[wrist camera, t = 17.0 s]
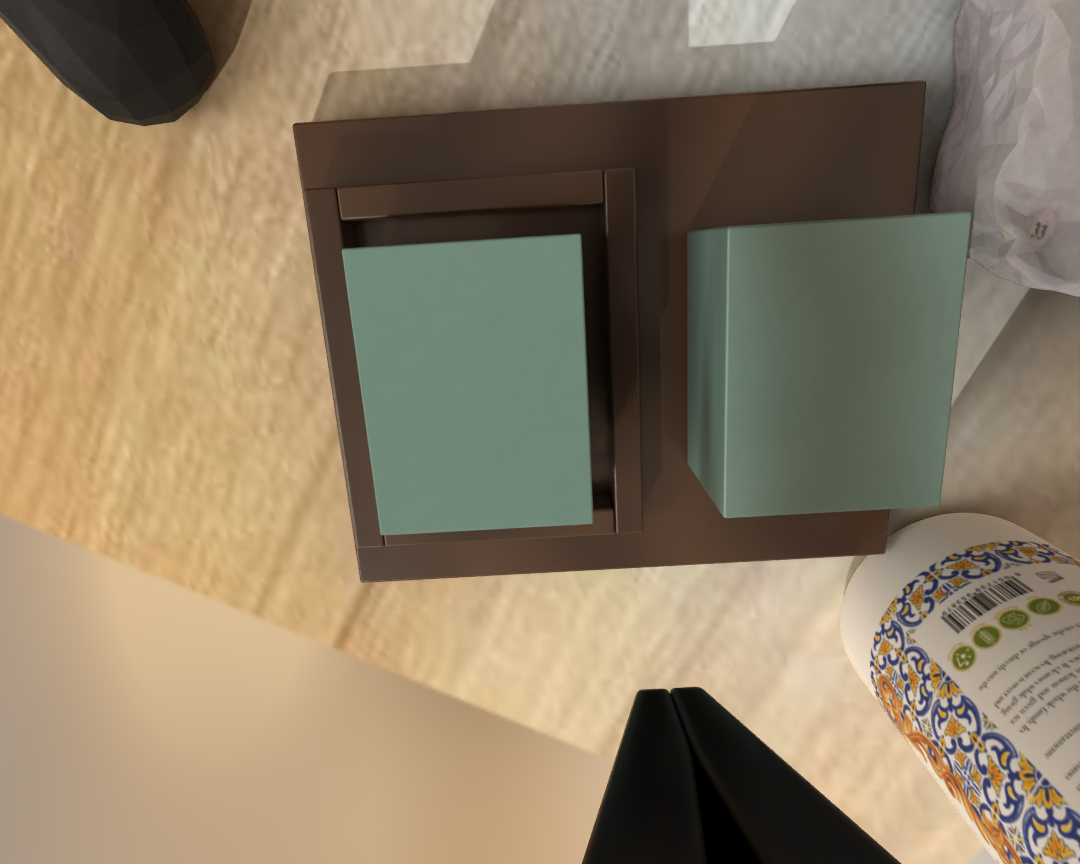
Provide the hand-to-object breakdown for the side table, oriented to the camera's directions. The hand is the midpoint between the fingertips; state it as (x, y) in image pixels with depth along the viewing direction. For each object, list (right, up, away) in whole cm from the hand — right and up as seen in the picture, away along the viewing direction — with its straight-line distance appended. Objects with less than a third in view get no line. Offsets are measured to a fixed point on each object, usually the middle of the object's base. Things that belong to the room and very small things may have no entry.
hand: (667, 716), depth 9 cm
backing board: (0, +6, +11) cm, 12 cm away
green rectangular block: (-3, +6, +10) cm, 12 cm away
